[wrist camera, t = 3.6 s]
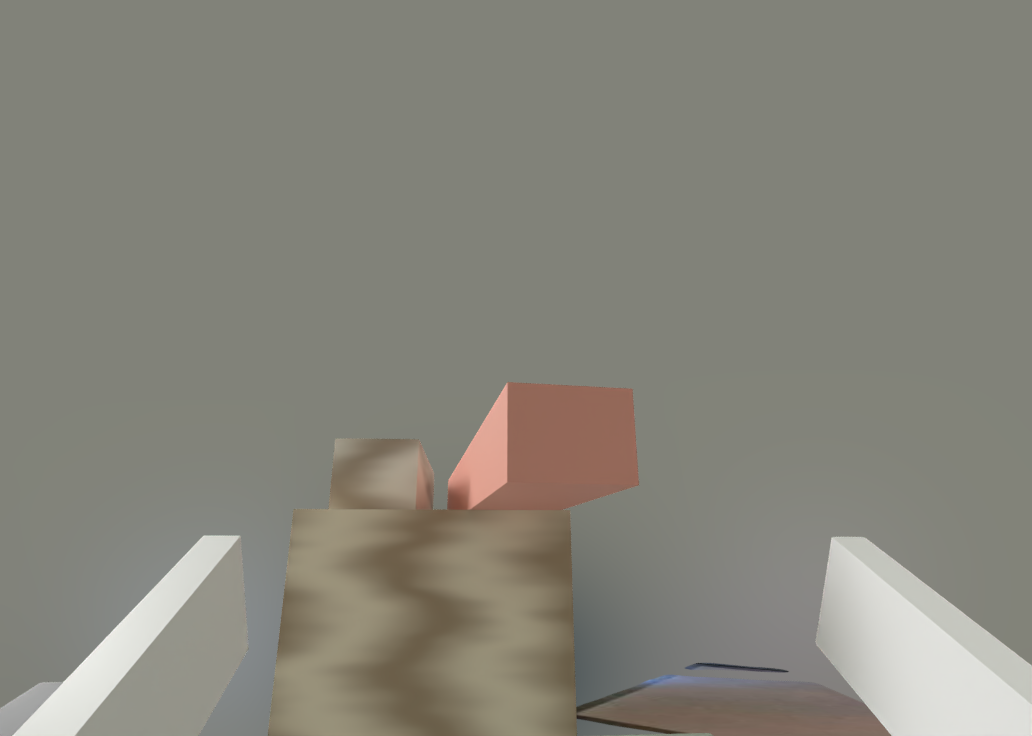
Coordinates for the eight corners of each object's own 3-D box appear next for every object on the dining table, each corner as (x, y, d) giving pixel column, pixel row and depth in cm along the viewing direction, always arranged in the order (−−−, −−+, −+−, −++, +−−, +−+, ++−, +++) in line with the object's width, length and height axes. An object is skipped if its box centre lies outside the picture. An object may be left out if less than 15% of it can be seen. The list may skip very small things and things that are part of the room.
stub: (507, 482, 17) (507, 382, 18) (446, 526, 38) (448, 480, 39) (638, 484, 18) (632, 388, 18) (506, 527, 39) (507, 481, 40)
